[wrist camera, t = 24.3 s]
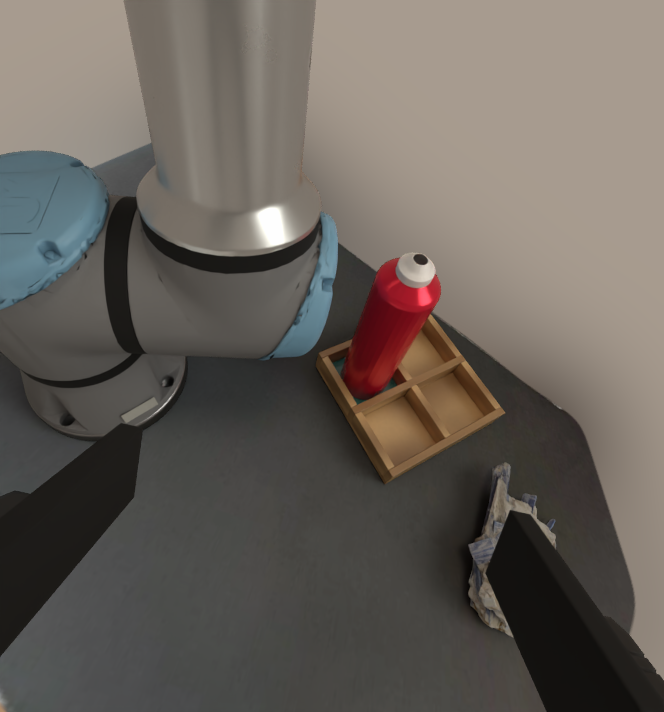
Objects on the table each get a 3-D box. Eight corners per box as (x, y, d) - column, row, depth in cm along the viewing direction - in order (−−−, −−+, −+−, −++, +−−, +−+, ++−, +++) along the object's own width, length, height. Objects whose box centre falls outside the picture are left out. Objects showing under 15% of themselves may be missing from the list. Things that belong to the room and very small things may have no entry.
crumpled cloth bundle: (520, 649, 38) (547, 655, 34) (438, 593, 39) (457, 593, 35) (561, 507, 45) (587, 500, 41) (491, 464, 46) (510, 453, 43)
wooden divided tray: (315, 365, 49) (318, 352, 46) (418, 322, 54) (426, 308, 52) (384, 484, 43) (392, 477, 41) (492, 422, 49) (505, 412, 46)
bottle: (343, 401, 46) (393, 289, 29) (336, 359, 49) (378, 232, 32) (390, 398, 47) (464, 287, 30) (381, 356, 50) (444, 232, 33)
